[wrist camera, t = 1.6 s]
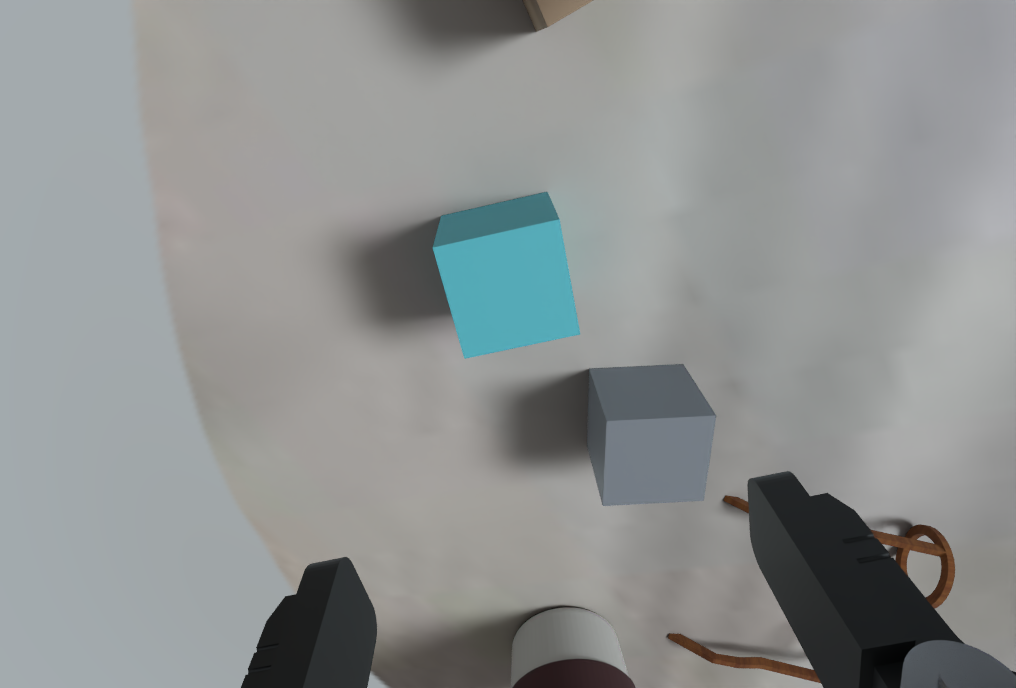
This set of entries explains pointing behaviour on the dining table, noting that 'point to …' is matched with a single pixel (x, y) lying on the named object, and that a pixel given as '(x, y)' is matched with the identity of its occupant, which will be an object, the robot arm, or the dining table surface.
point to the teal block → (506, 275)
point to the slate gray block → (648, 434)
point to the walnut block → (551, 10)
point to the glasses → (904, 546)
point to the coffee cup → (568, 652)
